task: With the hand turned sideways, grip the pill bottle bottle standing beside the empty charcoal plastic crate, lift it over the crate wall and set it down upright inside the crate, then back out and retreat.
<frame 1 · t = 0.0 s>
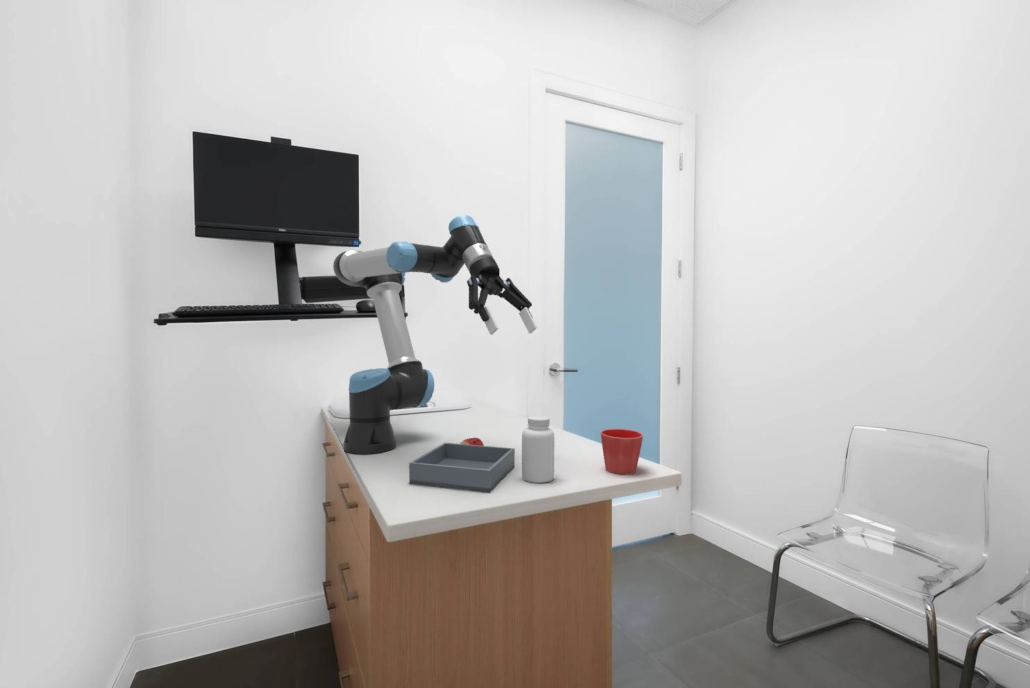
hand: (514, 331, 123), 36 cm above the table, tool tilted 35°, fingers open, 13 cm apart
pill bottle: (537, 479, 122), on the table
crate: (464, 475, 124), on the table
ladybug figurine: (470, 452, 147), on the table
flower pot: (620, 470, 129), on the table
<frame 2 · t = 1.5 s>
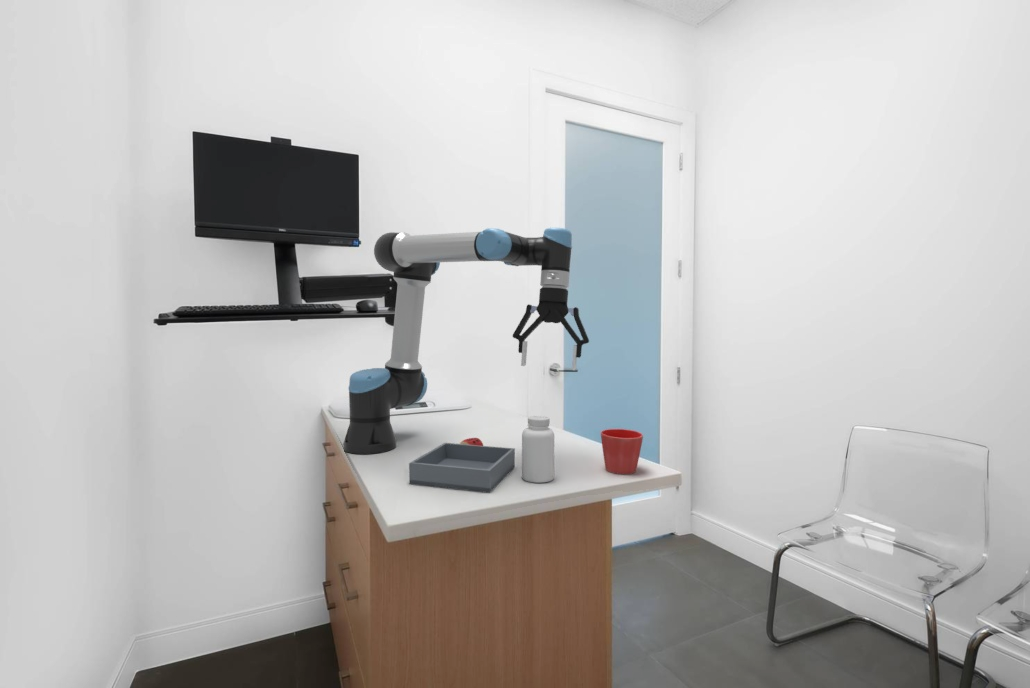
hand: (548, 367, 132), 26 cm above the table, tool pointing down, fingers open, 13 cm apart
nothing on the table moved.
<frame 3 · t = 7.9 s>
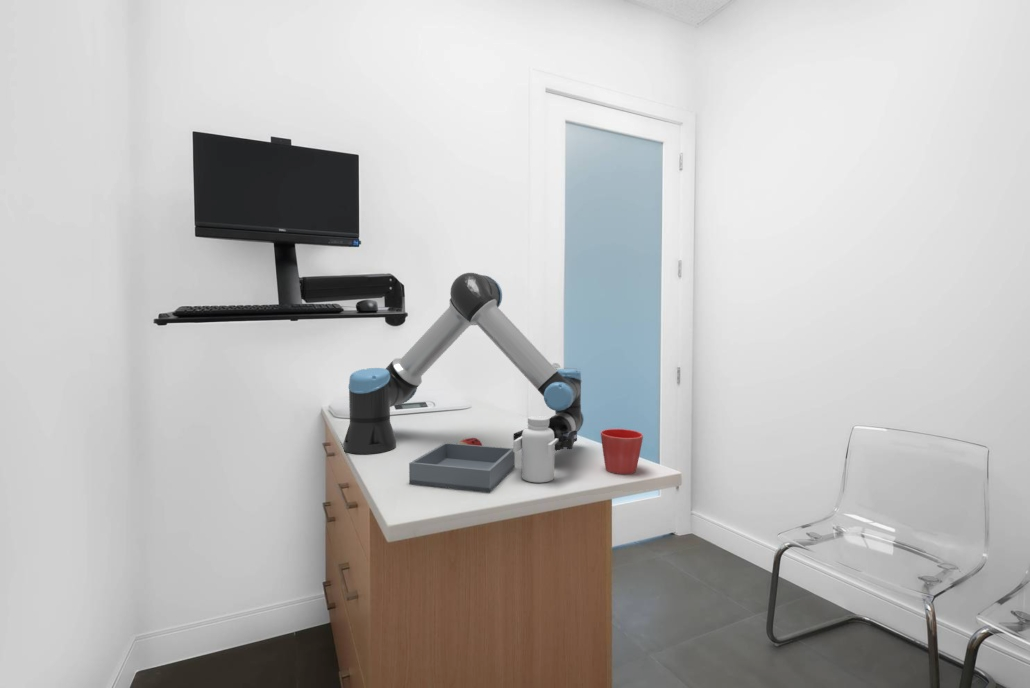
hand: (531, 448, 117), 9 cm above the table, tool horizontal, fingers closed on pill bottle, 8 cm apart
pill bottle: (537, 479, 122), on the table, touching gripper
everything else where it was.
when the fingers open (11 cm above the table, at t = 13.6 s): pill bottle drops 1 cm, resting on crate.
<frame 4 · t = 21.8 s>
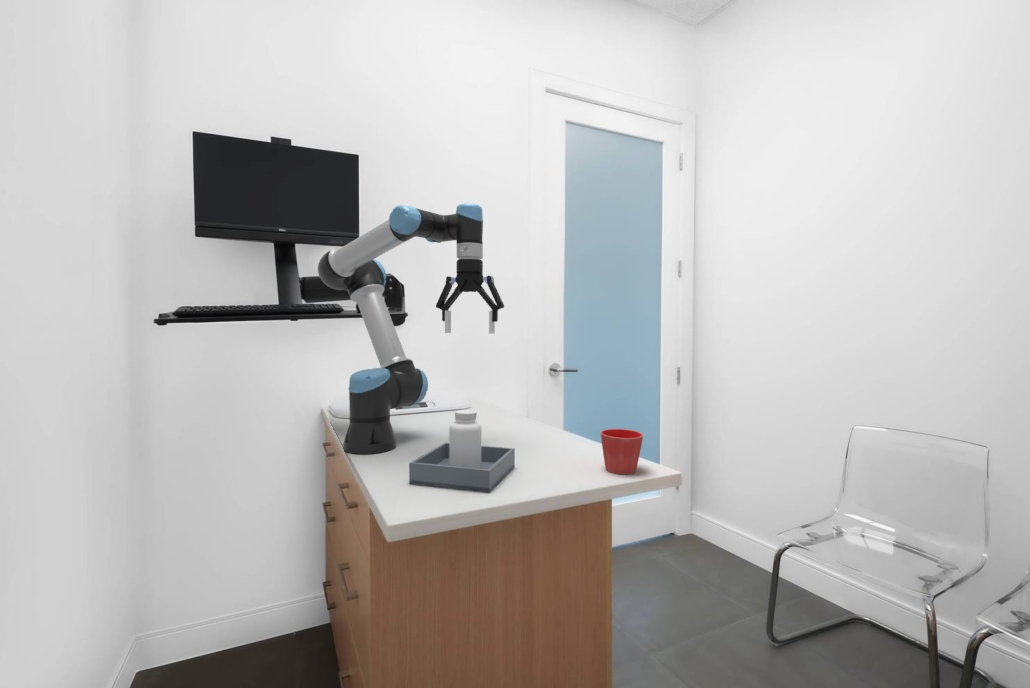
hand: (469, 333, 144), 35 cm above the table, tool pointing down, fingers open, 13 cm apart
pill bottle: (465, 472, 124), point 1 cm above the table, touching crate
at the end: pill bottle inside the target area on the crate (0.1 cm from its centre), point 0.8 cm above the crate's base; pill bottle tilted 0°; the gripper is holding nothing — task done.
